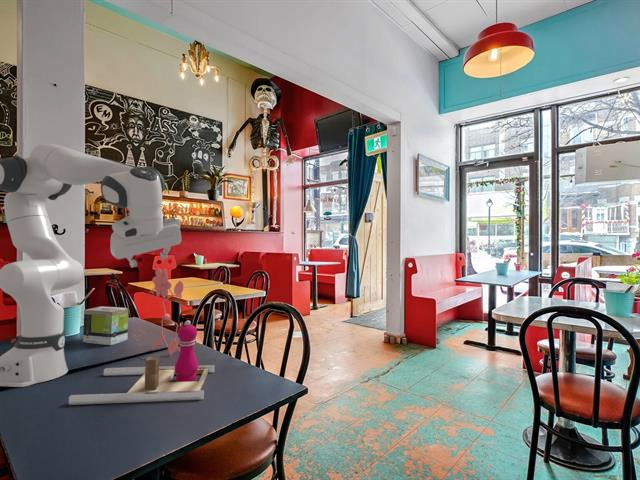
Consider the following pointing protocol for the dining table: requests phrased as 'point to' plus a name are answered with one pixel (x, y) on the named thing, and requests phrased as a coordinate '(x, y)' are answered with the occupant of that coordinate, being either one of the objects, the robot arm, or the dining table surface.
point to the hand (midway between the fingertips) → (149, 262)
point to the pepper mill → (186, 354)
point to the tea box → (105, 325)
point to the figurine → (161, 288)
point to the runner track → (138, 396)
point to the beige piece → (164, 379)
